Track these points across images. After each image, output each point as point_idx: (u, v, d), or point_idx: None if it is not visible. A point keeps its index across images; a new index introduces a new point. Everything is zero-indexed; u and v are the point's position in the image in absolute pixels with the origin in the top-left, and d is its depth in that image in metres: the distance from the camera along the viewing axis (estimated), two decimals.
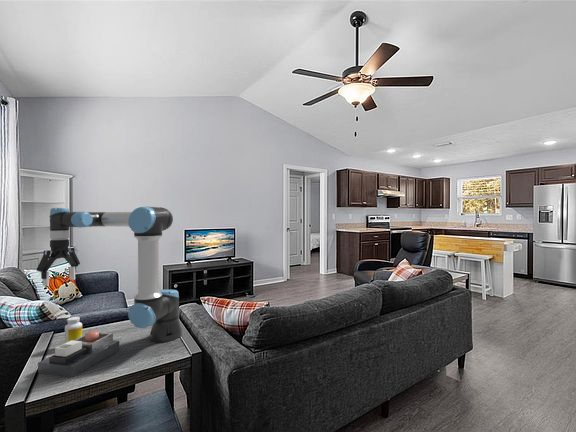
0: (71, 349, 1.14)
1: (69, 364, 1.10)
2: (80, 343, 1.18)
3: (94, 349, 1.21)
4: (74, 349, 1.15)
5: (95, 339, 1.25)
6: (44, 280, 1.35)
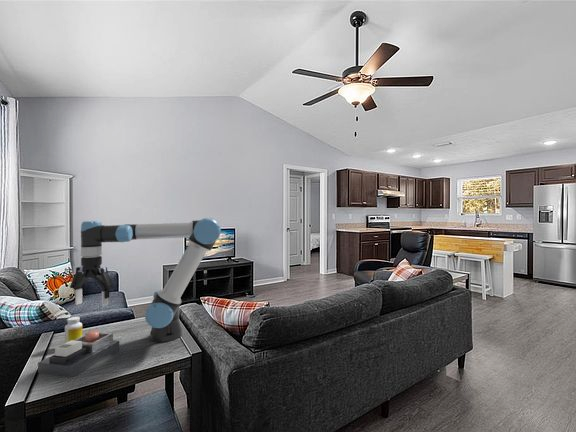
0: (71, 349, 1.14)
1: (69, 364, 1.10)
2: (80, 343, 1.18)
3: (94, 349, 1.21)
4: (74, 349, 1.15)
5: (95, 339, 1.25)
6: None
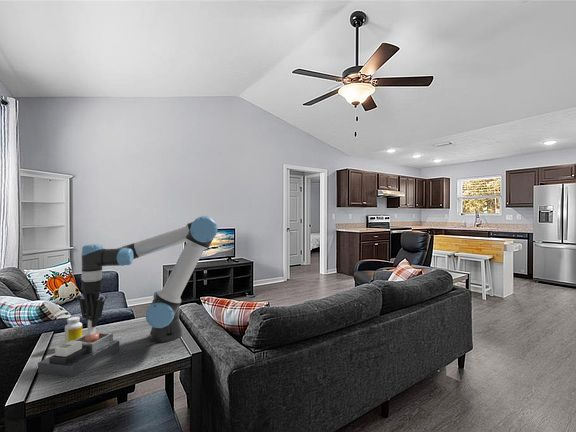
0: (71, 349, 1.14)
1: (69, 364, 1.10)
2: (80, 343, 1.18)
3: (94, 349, 1.21)
4: (74, 349, 1.15)
5: None
6: None
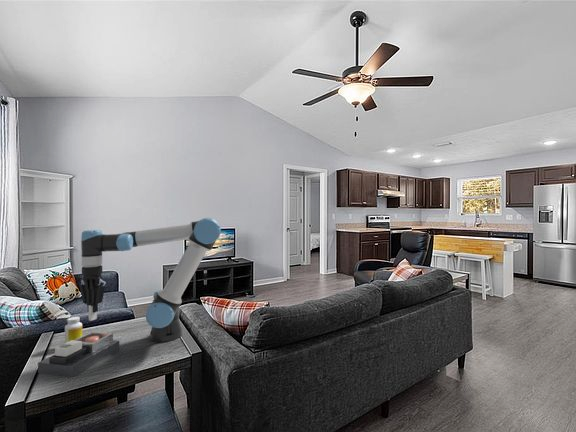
0: (71, 349, 1.14)
1: (69, 364, 1.10)
2: (80, 343, 1.18)
3: (94, 349, 1.21)
4: (74, 349, 1.15)
5: None
6: None
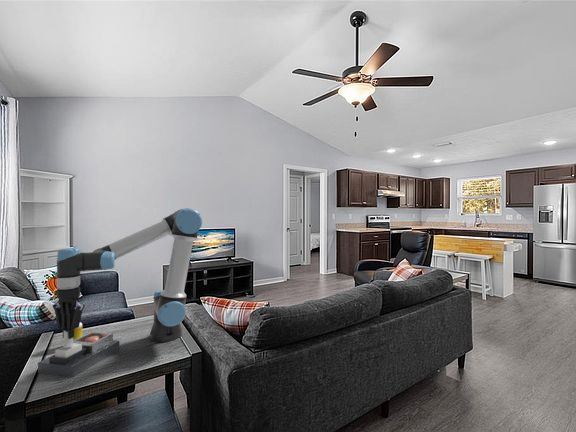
0: (71, 352, 1.14)
1: (69, 364, 1.10)
2: (80, 346, 1.18)
3: (94, 349, 1.21)
4: (74, 352, 1.15)
5: None
6: None
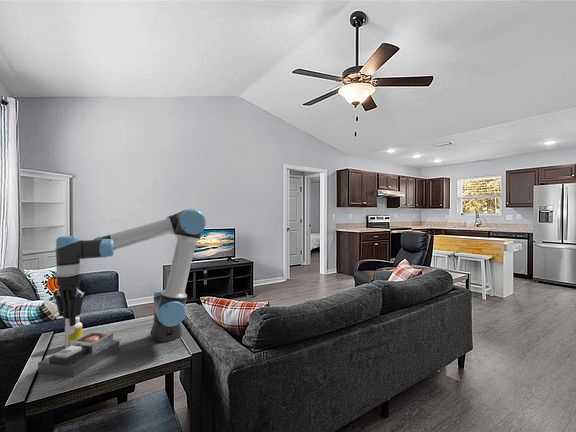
0: None
1: (69, 364, 1.10)
2: (80, 348, 1.18)
3: (94, 349, 1.21)
4: None
5: None
6: None
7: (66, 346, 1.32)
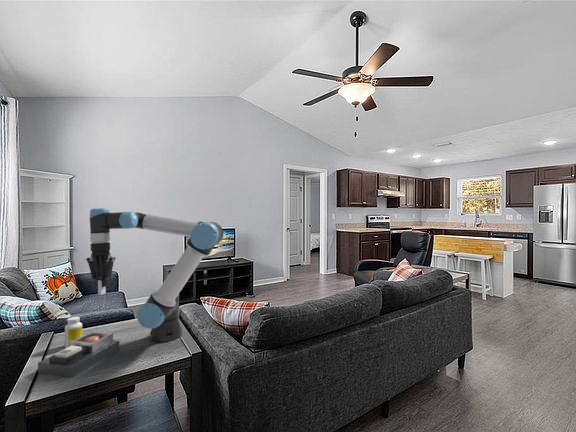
0: None
1: (69, 364, 1.10)
2: (80, 348, 1.18)
3: (94, 349, 1.21)
4: None
5: None
6: None
7: (66, 346, 1.32)
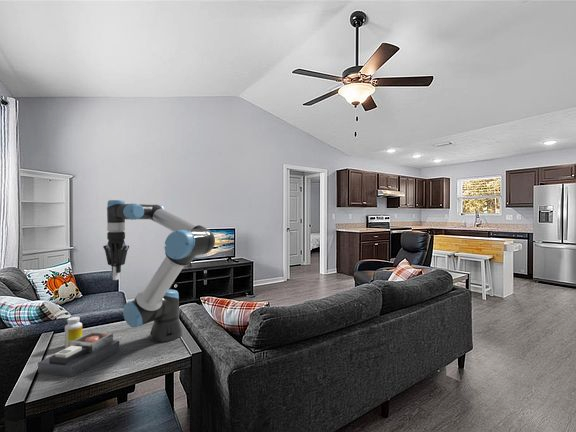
0: None
1: (69, 364, 1.10)
2: (80, 348, 1.18)
3: (94, 349, 1.21)
4: None
5: None
6: None
7: (66, 346, 1.32)
